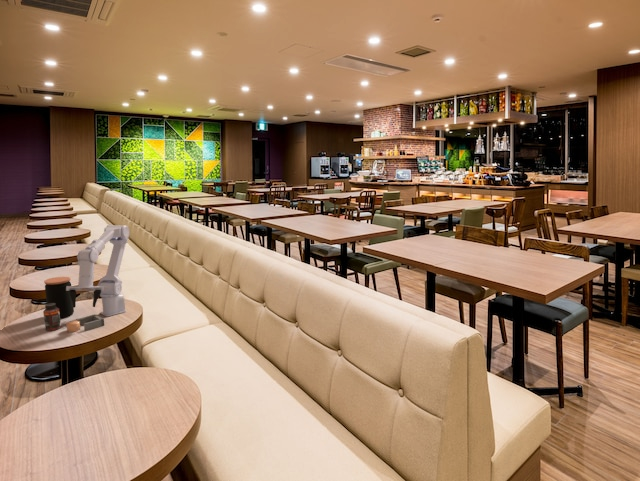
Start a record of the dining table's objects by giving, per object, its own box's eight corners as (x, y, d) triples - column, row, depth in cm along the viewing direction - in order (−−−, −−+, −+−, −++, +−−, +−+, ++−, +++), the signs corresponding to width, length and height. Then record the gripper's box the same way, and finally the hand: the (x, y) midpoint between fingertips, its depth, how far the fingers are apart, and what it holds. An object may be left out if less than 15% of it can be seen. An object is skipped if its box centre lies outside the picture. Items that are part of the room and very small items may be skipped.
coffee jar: (79, 312, 207) (75, 277, 203) (62, 320, 196) (58, 283, 193) (60, 311, 208) (56, 276, 205) (42, 318, 198) (38, 282, 195)
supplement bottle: (64, 326, 189) (61, 302, 187) (54, 331, 183) (52, 306, 181) (52, 325, 190) (49, 301, 188) (42, 330, 184) (39, 306, 182)
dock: (95, 320, 196) (94, 314, 196) (104, 325, 190) (103, 319, 190) (77, 325, 190) (76, 319, 189) (85, 330, 184) (85, 324, 184)
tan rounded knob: (77, 327, 188) (76, 319, 188) (82, 330, 185) (81, 322, 184) (65, 330, 184) (64, 323, 184) (69, 333, 181) (69, 325, 181)
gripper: (68, 276, 179) (66, 308, 178) (106, 276, 187) (103, 307, 186) (66, 275, 184) (64, 307, 183) (103, 276, 193) (101, 306, 192)
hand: (84, 307), depth 185 cm, fingers open, 7 cm apart
